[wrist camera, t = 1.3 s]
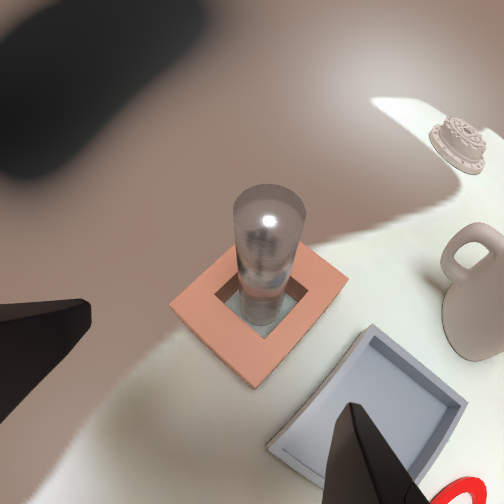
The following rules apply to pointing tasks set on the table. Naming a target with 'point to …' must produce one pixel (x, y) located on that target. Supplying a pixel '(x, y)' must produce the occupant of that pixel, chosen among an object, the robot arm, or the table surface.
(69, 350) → the robot arm
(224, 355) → the block
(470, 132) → the mechanical component
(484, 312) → the mug
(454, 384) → the table surface
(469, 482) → the tow hook
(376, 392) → the tray
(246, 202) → the pin
